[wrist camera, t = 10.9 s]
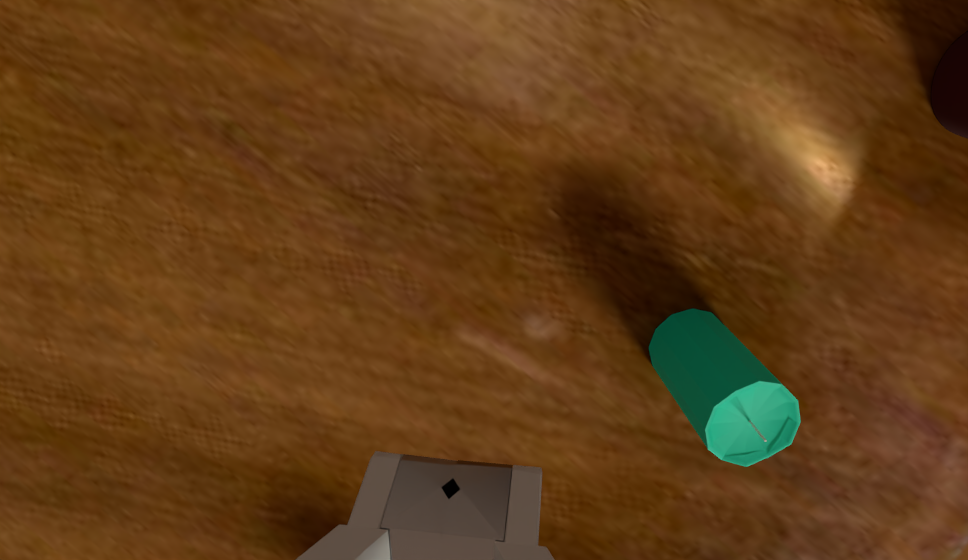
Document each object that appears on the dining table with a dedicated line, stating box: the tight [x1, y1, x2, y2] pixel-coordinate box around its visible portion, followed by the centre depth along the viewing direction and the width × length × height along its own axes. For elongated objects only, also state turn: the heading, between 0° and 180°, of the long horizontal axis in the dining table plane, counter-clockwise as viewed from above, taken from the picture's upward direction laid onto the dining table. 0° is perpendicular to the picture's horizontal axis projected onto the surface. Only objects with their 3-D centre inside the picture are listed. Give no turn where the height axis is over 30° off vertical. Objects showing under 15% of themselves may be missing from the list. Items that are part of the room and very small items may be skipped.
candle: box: [649, 308, 801, 467], centre depth 45 cm, size 6×6×12 cm
